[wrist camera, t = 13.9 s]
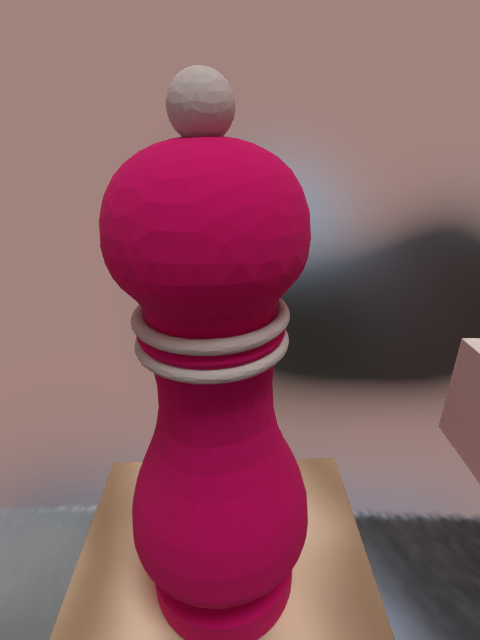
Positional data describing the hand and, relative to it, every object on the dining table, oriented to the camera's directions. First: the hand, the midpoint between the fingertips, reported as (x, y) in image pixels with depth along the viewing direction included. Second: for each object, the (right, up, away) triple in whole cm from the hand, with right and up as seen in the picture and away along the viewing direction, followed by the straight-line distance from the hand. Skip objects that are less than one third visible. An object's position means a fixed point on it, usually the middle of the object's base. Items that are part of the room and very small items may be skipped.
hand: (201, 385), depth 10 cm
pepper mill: (0, -10, +8) cm, 13 cm away
